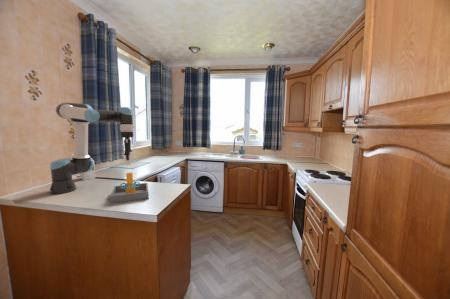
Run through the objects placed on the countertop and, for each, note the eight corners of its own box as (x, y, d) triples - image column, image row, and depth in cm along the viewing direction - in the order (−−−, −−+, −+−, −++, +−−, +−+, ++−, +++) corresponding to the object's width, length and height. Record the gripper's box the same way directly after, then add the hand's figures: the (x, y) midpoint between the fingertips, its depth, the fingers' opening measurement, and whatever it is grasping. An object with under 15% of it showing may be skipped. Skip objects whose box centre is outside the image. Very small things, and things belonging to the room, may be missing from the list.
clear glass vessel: (84, 180, 179) (82, 161, 177) (79, 178, 184) (77, 160, 182) (95, 178, 187) (94, 160, 185) (91, 176, 192) (89, 159, 190)
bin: (114, 193, 144) (114, 186, 144) (147, 189, 152) (147, 182, 152) (110, 204, 124) (109, 196, 123) (148, 198, 132) (148, 191, 132)
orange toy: (131, 198, 131) (130, 175, 129) (117, 197, 133) (116, 174, 131) (143, 191, 143) (141, 171, 141) (129, 191, 145) (128, 170, 143)
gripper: (132, 131, 123) (134, 166, 126) (133, 130, 146) (135, 159, 148) (118, 132, 120) (120, 167, 123) (122, 130, 143) (124, 160, 146)
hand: (128, 163), depth 136 cm, fingers open, 13 cm apart
